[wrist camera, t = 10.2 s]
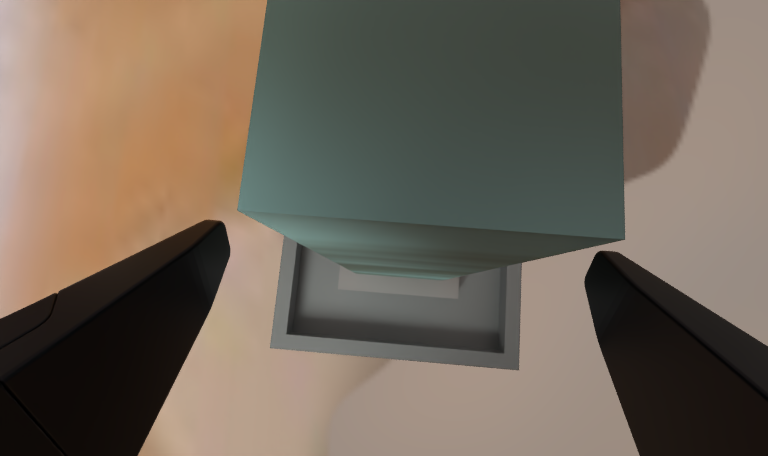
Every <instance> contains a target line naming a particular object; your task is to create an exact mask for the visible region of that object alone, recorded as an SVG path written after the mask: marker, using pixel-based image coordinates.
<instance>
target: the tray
mask: <svg viewBox="0 0 768 456" xmlns="http://www.w3.org/2000/svg"><path fill="white" fill-rule="evenodd" d="M521 265H522V263H518V264H514V265H509V266H505V267H500V268H496V269H491V270H487V271H482V272H478V273H473V274H469V275H464V276H460V277H459V291H458V299H453V298H440V297H428V296H416V295H403V294H391V293H378V292H366V291H354V290H341V289H338V282H339V271H340V265H339V264H337V263H335V262H333V261H331V260H329V259H328V258H326V257H324V256H322V255H320V254H318V253H316V252H314V251H313V250H311V249H309V248H307V247H305V246H303V245H301V244H299V243H298V242H296V241H294V240H292V239H290V238H288V237H286V236H284V240H283V248H282V256H281V264H280V272H279V280H278V288H277V296H276V304H275V312H274V320H273V328H272V336H271V344H270V348H275V349H286V350H297V351H308V352H319V353H331V354H342V355H353V356H364V357H376V358H387V359H398V360H410V361H420V362H421V361H422V362H432V363H444V364H455V365H465V366H476V367H488V368H500V369H510V370H519V344H520V343H519V342H520V306H521V267H522V266H521Z"/></svg>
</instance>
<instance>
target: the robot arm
mask: <svg viewBox="0 0 768 456" xmlns="http://www.w3.org/2000/svg"><path fill="white" fill-rule="evenodd" d="M229 257H230V245H229V240H228V236H227V232H226V227H225V225H224V223H223V222H222V221H216V220H204V221H202V222H200V223H198V224H196V225H194V226H192V227H190V228H187V229H185V230H183V231H181V232H179V233H177V234H175V235H173V236H171V237H169V238H167V239H165V240H163V241H161V242H159V243H157V244H155V245H153V246H151V247H148V248H146V249H144V250H142V251H140V252H138V253H136V254H134V255H132V256H130V257H128V258H126V259H124V260H122V261H120V262H118V263H116V264H114V265H112V266H109V267H107V268H105V269H103V270H101V271H99V272H97V273H95V274H93V275H91V276H89V277H87V278H85V279H83V280H81V281H79V282H77V283H75V284H73V285H70V286H68V287H66V288H64V289H62V290H60V291H59V292H58V294H57V293H54V294H52V295H50V296H48V297H46V298H44V299H42V300H40V301H38V302H35V303H33V304H31V305H29V306H27V307H25V308H23V309H21V310H18V311H16V312H14V313H12V314H10V315H8V316H6V317H3V318H1V319H0V456H138V454H139V452H140V450H141V448H142V446H143V444H144V442H145V440H146V438H147V436H148V434H149V432H150V430H151V428H152V426H153V424H154V422H155V420H156V418H157V416H158V414H159V412H160V410H161V408H162V406H163V404H164V402H165V400H166V398H167V396H168V394H169V392H170V390H171V388H172V386H173V384H174V382H175V380H176V378H177V376H178V374H179V372H180V370H181V368H182V366H183V364H184V362H185V360H186V358H187V356H188V354H189V352H190V350H191V348H192V346H193V344H194V342H195V340H196V338H197V336H198V334H199V332H200V330H201V328H202V326H203V324H204V322H205V320H206V318H207V316H208V313H209V311H210V309H211V307H212V304H213V302H214V299H215V296H216V293H217V291H218V288H219V285H220V282H221V279H222V277H223V274H224V271H225V268H226V265H227V263H228V260H229ZM585 289H586V294H587V298H588V302H589V306H590V310H591V315H592V319H593V323H594V327H595V331H596V335H597V339H598V342H599V345H600V348H601V351H602V354H603V357H604V359H605V362H606V365H607V367H608V370H609V373H610V376H611V378H612V381H613V384H614V387H615V389H616V392H617V395H618V397H619V400H620V403H621V406H622V408H623V411H624V414H625V417H626V419H627V422H628V425H629V428H630V430H631V433H632V436H633V438H634V441H635V444H636V447H637V449H638V452H639V455H640V456H768V346H766V345H765V344H763V343H761V342H760V341H758V340H757V339H755V338H753V337H752V336H750V335H749V334H747V333H746V332H744V331H742V330H741V329H739V328H737V327H736V326H734V325H733V324H731V323H730V322H728V321H726V320H725V319H723V318H722V317H720V316H719V315H717V314H715V313H714V312H712V311H711V310H709V309H707V308H706V307H704V306H703V305H701V304H699V303H698V302H696V301H694V300H693V299H692V298H690V297H688V296H687V295H685V294H684V293H682V292H680V291H679V290H677V289H676V288H674V287H672V286H671V285H669V284H668V283H666V282H665V281H663V280H661V279H660V278H658V277H657V276H655V275H653V274H652V273H650V272H649V271H647V270H645V269H644V268H642V267H641V266H639V265H638V264H636V263H634V262H633V261H631V260H629V259H628V258H626V257H625V256H623V255H622V254H620V253H618V252H613V251H599V252H598V253H596V255H595V257H594V259H593V261H592V263H591V265H590V268H589V270H588V272H587V274H586V276H585Z"/></svg>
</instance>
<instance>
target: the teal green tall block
mask: <svg viewBox="0 0 768 456" xmlns="http://www.w3.org/2000/svg"><path fill="white" fill-rule="evenodd" d="M237 210H238V211H239V212H241V213H243V214H245V215H247V216H249V217H251V218H253V219H254V220H256V221H258V222H260V223H262V224H264V225H266V226H268V227H269V228H271V229H273V230H275V231H277V232H279V233H281V234H283V235H284V236H286V237H288V238H290V239H292V240H294V241H296V242H298V243H299V244H301V245H303V246H305V247H307V248H309V249H311V250H313V251H314V252H316V253H318V254H320V255H322V256H324V257H326V258H328V259H329V260H331V261H333V262H335V263H337V264H339V265H340V271H339V282H338V289H341V290H354V291H366V292H378V293H391V294H403V295H416V296H428V297H440V298H453V299H458V291H459V277H460V276H464V275H469V274H473V273H478V272H482V271H487V270H491V269H496V268H500V267H505V266H509V265H514V264H518V263H523V262H527V261H531V260H536V259H540V258H545V257H549V256H554V255H558V254H563V253H567V252H571V251H576V250H581V249H584V248H589V247H593V246H598V245H603V244H607V243H612V242H616V241H621V240H625V215H624V214H625V213H624V165H623V116H622V68H621V19H620V0H267V7H266V14H265V21H264V28H263V35H262V42H261V49H260V56H259V63H258V70H257V77H256V83H255V90H254V97H253V104H252V111H251V118H250V125H249V132H248V139H247V146H246V153H245V160H244V167H243V174H242V181H241V188H240V195H239V202H238V209H237Z"/></svg>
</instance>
